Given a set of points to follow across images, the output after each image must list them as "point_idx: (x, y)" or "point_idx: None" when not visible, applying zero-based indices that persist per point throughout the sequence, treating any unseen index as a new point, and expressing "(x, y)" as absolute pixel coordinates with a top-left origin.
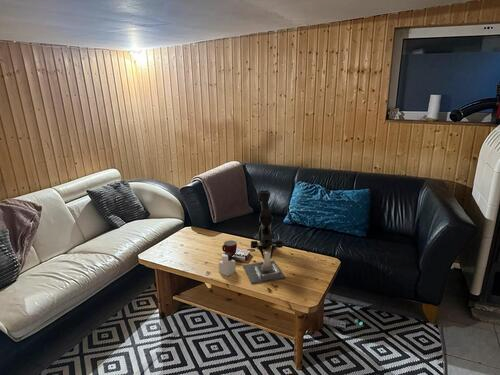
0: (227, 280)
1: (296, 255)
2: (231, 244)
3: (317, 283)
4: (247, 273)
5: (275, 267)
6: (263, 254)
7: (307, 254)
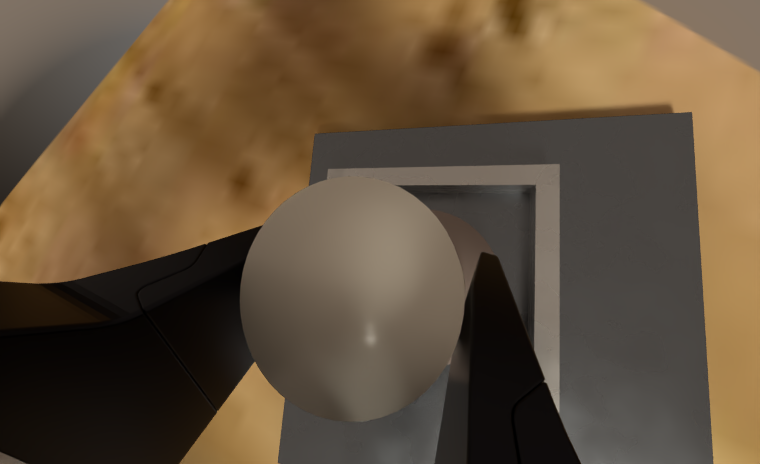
0: None
1: None
2: None
3: (177, 44)
4: (696, 320)
5: None
6: (474, 306)
7: None
